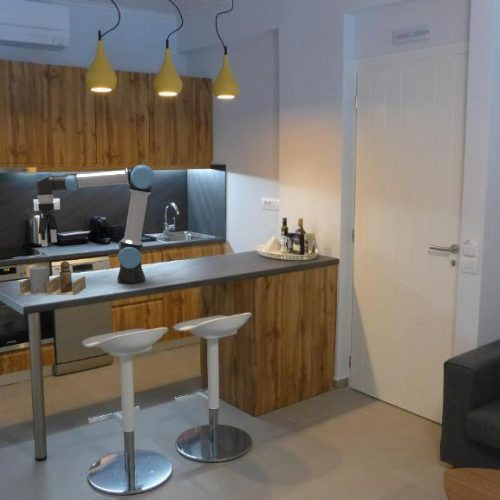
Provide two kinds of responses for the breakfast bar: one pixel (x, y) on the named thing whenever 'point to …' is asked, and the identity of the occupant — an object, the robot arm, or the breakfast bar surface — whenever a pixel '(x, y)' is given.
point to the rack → (53, 287)
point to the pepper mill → (65, 277)
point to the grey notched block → (39, 279)
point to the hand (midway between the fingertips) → (49, 244)
